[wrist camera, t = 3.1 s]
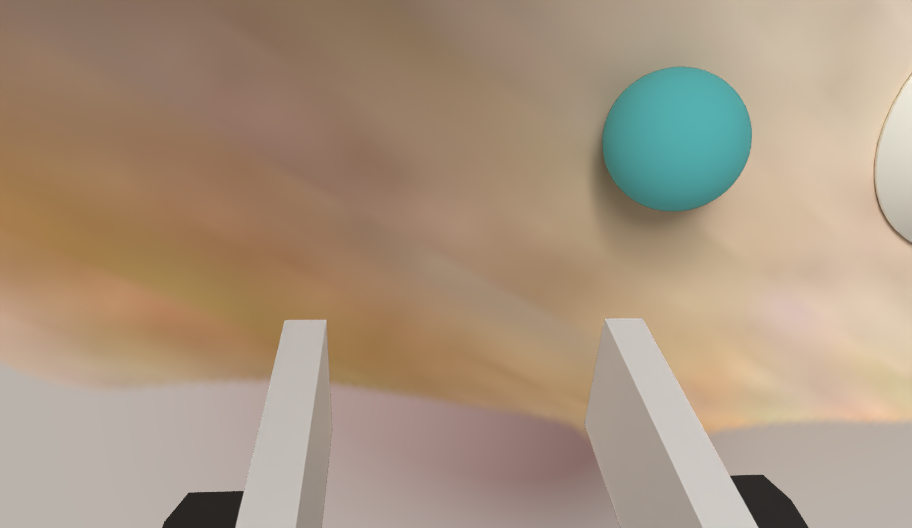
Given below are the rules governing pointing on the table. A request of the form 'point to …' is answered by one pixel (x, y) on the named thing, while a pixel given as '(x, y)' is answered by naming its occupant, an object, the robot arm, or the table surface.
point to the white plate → (896, 163)
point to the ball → (677, 139)
